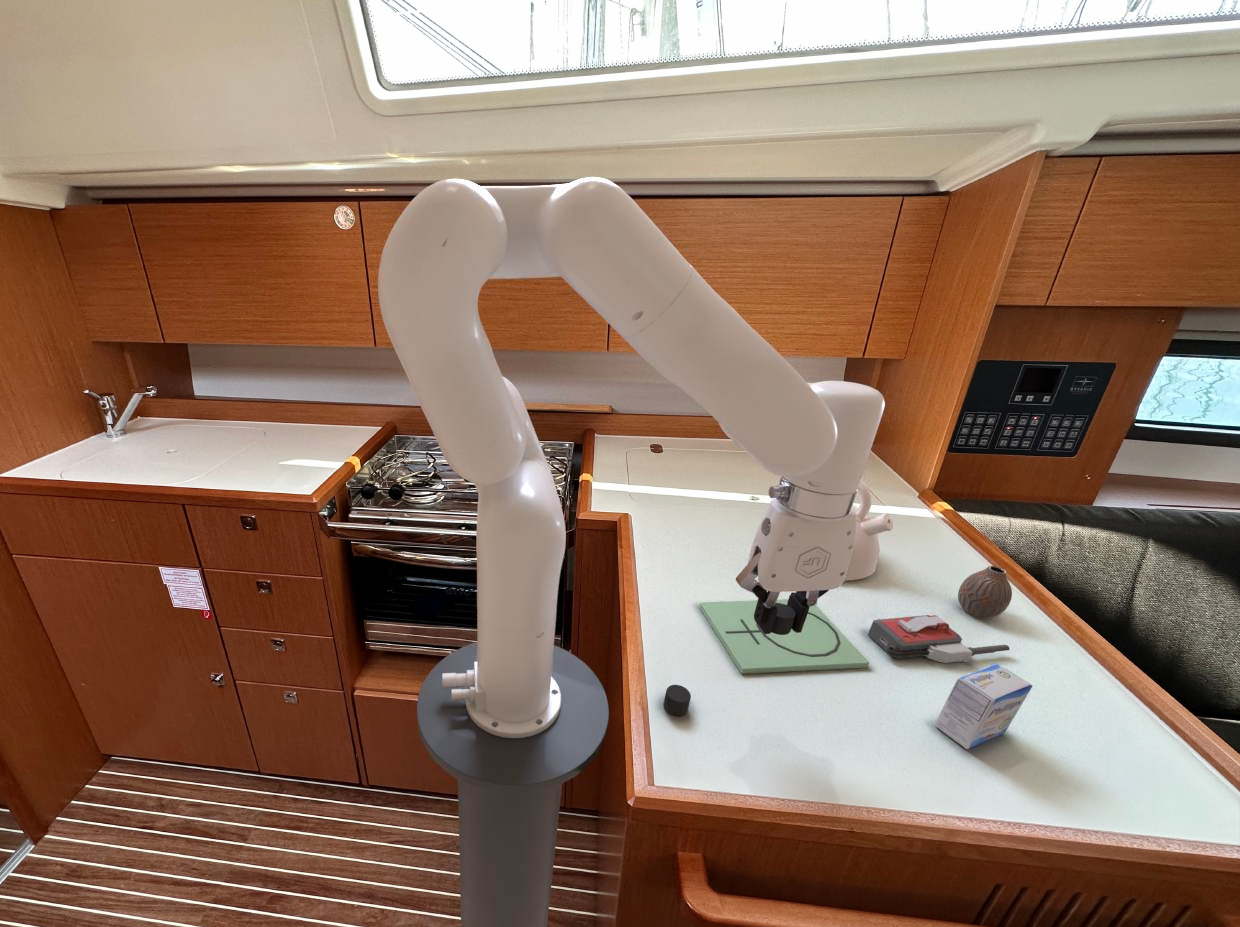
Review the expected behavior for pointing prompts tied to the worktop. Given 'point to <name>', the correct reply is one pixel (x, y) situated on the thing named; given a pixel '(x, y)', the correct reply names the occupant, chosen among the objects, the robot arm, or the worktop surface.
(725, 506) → the worktop surface
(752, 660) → the drawing board
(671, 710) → the eye dot
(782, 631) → the eye dot
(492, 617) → the robot arm
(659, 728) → the worktop surface
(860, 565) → the kettle
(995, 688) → the medicine box
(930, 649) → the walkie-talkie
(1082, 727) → the worktop surface
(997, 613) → the vase
